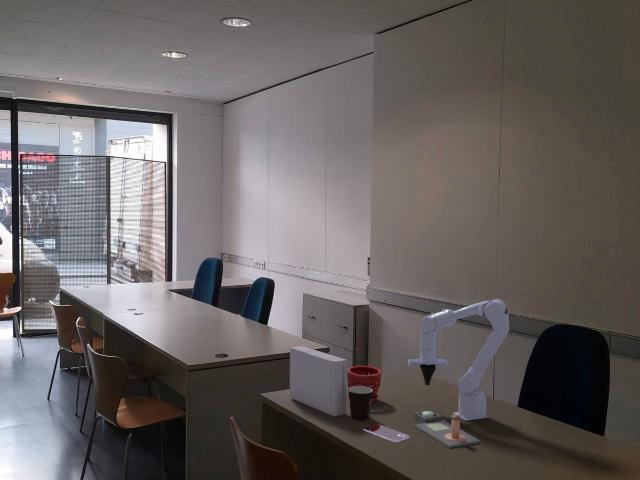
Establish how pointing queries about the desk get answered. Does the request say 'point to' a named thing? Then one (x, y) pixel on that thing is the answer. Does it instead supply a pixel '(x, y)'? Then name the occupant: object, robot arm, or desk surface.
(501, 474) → the desk surface
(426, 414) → the button
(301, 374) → the game console
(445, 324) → the robot arm
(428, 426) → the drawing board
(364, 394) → the coffee mug
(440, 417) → the button housing
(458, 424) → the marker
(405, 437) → the mobile phone
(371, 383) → the plant pot
